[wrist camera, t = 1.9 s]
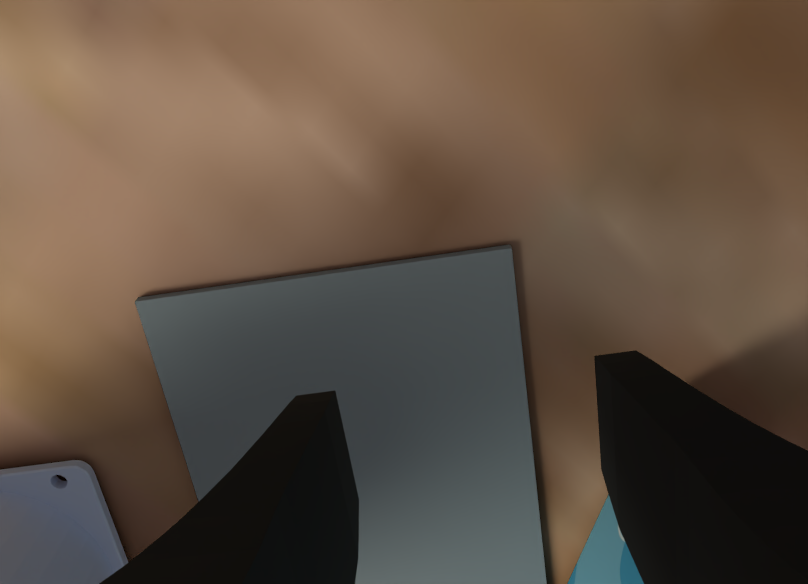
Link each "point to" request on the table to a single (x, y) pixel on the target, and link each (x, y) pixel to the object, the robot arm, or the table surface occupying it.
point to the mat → (375, 401)
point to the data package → (605, 554)
